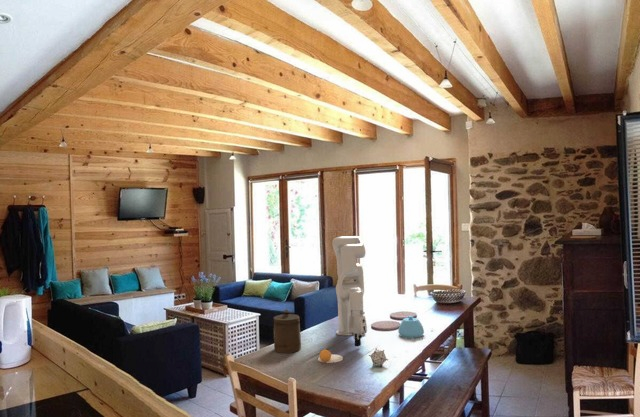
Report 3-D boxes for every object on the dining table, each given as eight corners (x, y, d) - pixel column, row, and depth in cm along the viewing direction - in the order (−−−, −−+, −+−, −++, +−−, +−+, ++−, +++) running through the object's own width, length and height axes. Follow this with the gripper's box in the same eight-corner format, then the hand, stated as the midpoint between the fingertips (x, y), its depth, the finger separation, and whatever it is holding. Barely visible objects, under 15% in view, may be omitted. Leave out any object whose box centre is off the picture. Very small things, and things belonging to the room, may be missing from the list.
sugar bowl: (424, 339, 281) (423, 319, 280) (398, 338, 284) (397, 319, 283) (423, 332, 295) (423, 313, 295) (399, 331, 298) (398, 313, 298)
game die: (378, 374, 236) (369, 361, 231) (371, 363, 243) (363, 350, 239) (393, 364, 236) (385, 351, 232) (386, 353, 244) (378, 340, 239)
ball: (315, 352, 246) (318, 363, 247) (325, 354, 242) (327, 365, 243) (323, 346, 250) (325, 356, 251) (332, 348, 246) (334, 358, 247)
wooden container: (287, 344, 280) (285, 306, 280) (306, 348, 271) (305, 309, 271) (268, 350, 269) (267, 311, 269) (288, 355, 259) (286, 314, 259)
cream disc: (330, 353, 260) (329, 352, 260) (348, 358, 251) (348, 357, 251) (312, 359, 251) (312, 358, 251) (331, 364, 242) (331, 364, 242)
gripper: (371, 313, 264) (372, 346, 264) (350, 309, 274) (351, 342, 274) (362, 315, 258) (363, 350, 259) (341, 312, 269) (343, 345, 269)
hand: (357, 345), depth 267 cm, fingers closed
